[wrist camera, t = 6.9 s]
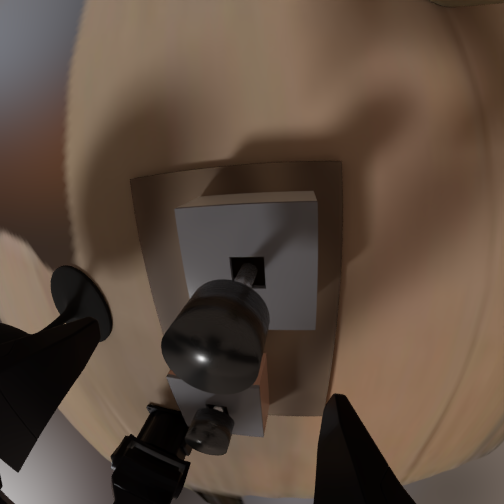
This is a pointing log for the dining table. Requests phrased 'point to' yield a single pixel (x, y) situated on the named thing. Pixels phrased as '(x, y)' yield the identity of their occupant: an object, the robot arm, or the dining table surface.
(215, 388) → the black plunger
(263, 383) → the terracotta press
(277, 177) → the walnut board
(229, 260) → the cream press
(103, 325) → the wine glass
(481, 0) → the plant pot
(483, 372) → the dining table surface
